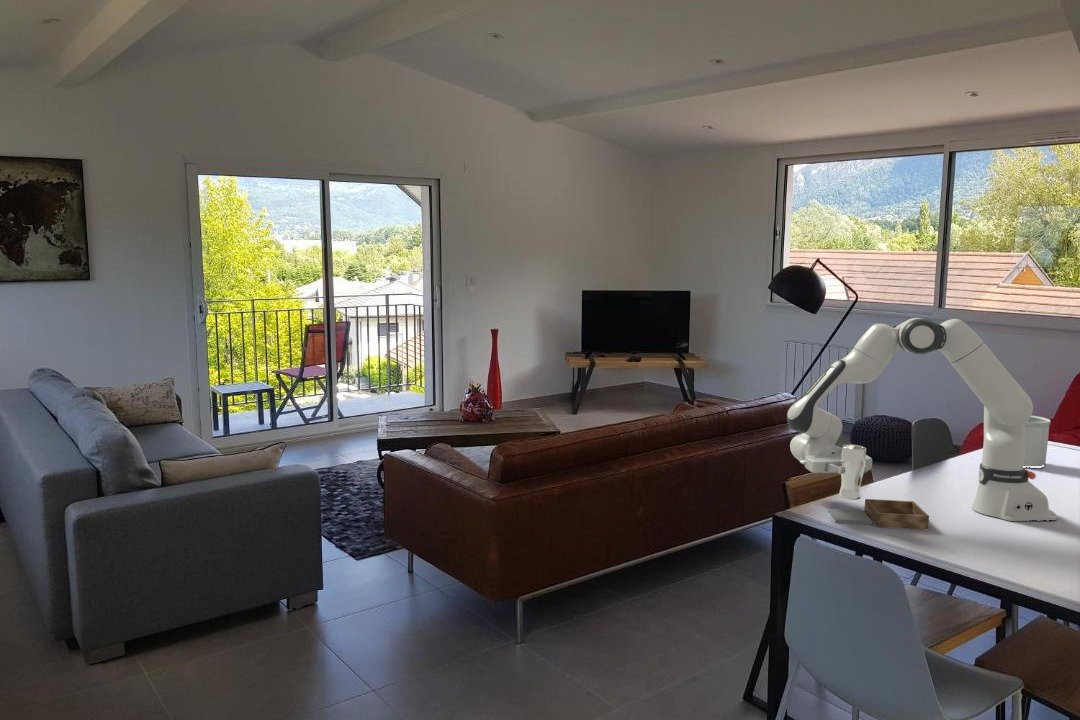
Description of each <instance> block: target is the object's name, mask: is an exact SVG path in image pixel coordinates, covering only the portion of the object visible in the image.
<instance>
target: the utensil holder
mask: <svg viewBox="0 0 1080 720" xmlns="http://www.w3.org/2000/svg"><path fill="white" fill-rule="evenodd" d="M1051 421H1052V420H1050V419H1049V418H1047V417H1046V418H1045V417H1043V416H1038V415H1037V416H1036V415H1031V417H1030V419H1029V420H1028V421H1027V422H1026V423H1024V426H1025V454H1024V464H1023V466H1042V465H1045V466H1046V459H1047V453H1048V452H1047V451H1048V442H1049V433H1050V426H1051Z"/></svg>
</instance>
